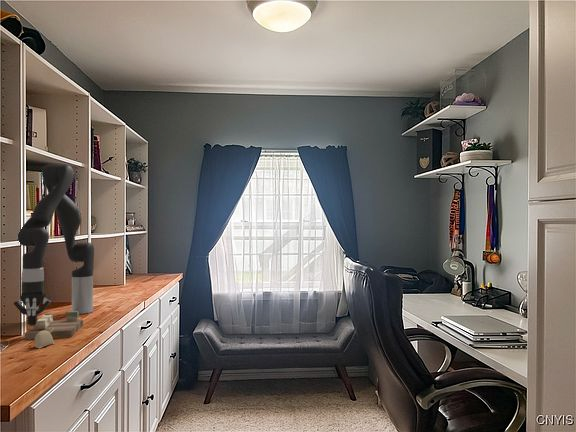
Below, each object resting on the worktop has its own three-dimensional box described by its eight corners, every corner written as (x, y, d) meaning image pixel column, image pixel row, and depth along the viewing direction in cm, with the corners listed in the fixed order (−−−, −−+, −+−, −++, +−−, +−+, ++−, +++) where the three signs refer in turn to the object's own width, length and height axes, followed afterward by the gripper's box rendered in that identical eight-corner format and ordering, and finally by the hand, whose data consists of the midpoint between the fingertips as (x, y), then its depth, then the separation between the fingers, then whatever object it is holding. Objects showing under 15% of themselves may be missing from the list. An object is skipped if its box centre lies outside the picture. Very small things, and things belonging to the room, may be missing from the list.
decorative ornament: (30, 348, 156) (30, 332, 156) (50, 341, 164) (50, 327, 164) (38, 349, 155) (38, 333, 155) (58, 342, 163) (58, 328, 163)
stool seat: (42, 327, 186) (42, 312, 186) (83, 324, 190) (83, 310, 190) (24, 339, 167) (24, 323, 167) (71, 337, 170) (71, 321, 170)
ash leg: (45, 321, 184) (45, 313, 184) (53, 320, 185) (53, 313, 185) (36, 329, 171) (36, 320, 171) (45, 328, 172) (44, 320, 172)
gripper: (54, 278, 178) (54, 322, 178) (17, 279, 175) (16, 323, 175) (48, 280, 170) (48, 326, 170) (9, 281, 168) (9, 328, 167)
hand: (32, 325), depth 173 cm, fingers closed
